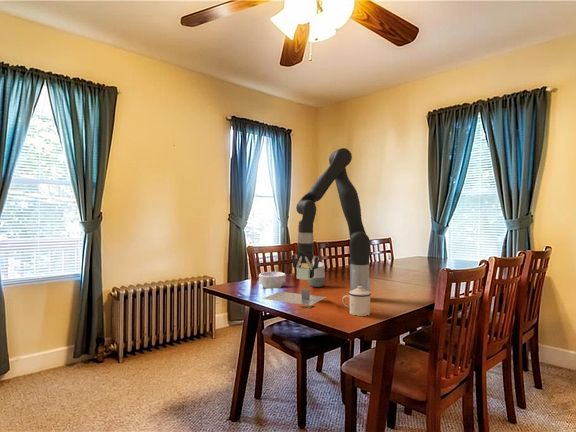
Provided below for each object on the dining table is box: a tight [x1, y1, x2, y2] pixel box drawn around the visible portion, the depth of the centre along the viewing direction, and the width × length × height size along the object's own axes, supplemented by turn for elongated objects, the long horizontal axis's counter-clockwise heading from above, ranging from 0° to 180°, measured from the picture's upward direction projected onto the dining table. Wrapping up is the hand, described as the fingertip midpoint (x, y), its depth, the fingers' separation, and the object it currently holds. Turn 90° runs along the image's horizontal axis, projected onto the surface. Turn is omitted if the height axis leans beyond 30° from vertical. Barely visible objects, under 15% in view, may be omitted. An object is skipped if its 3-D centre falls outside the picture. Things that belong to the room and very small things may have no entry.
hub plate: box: [261, 288, 328, 309], centre depth 176 cm, size 26×18×6 cm
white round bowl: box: [258, 271, 286, 290], centre depth 208 cm, size 15×15×8 cm
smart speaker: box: [308, 261, 326, 288], centre depth 211 cm, size 10×9×14 cm
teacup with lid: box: [341, 286, 372, 317], centre depth 155 cm, size 12×9×12 cm
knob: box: [296, 266, 314, 281], centre depth 173 cm, size 6×6×5 cm
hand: (305, 277), depth 173 cm, fingers closed on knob, 6 cm apart
